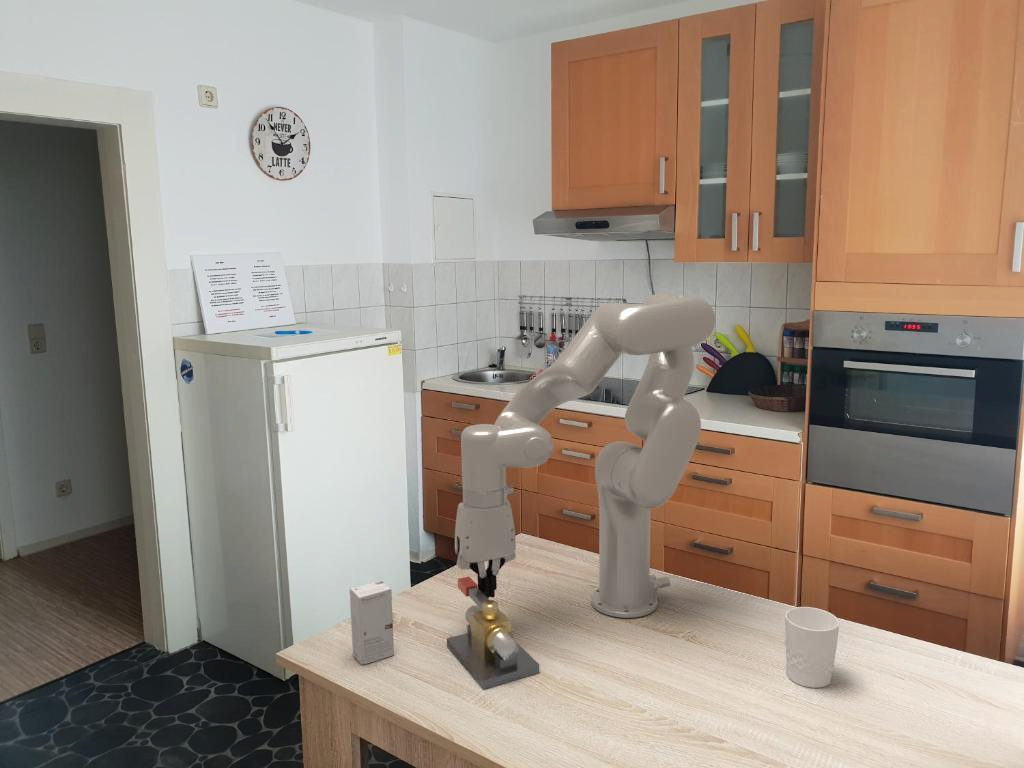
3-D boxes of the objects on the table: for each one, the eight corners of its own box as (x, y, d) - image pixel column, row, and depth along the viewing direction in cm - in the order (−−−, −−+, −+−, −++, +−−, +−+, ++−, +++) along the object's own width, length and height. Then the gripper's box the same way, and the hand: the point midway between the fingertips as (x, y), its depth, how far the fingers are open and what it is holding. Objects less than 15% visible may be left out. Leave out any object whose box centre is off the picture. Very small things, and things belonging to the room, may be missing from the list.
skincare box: (362, 666, 130) (358, 598, 128) (351, 654, 134) (347, 588, 132) (396, 655, 133) (392, 588, 131) (385, 644, 137) (381, 579, 135)
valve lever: (500, 617, 129) (500, 605, 129) (486, 620, 128) (486, 608, 128) (470, 585, 141) (470, 574, 141) (456, 588, 140) (456, 577, 140)
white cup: (834, 667, 127) (837, 610, 125) (836, 694, 120) (840, 634, 118) (782, 660, 130) (785, 603, 128) (782, 685, 122) (785, 626, 120)
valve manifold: (498, 632, 140) (497, 593, 139) (539, 672, 127) (538, 630, 126) (447, 646, 136) (445, 606, 134) (483, 689, 123) (482, 645, 121)
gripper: (516, 484, 142) (518, 578, 145) (436, 495, 136) (440, 594, 140) (532, 496, 135) (534, 595, 139) (450, 509, 130) (453, 612, 133)
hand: (487, 594), depth 139 cm, fingers closed
